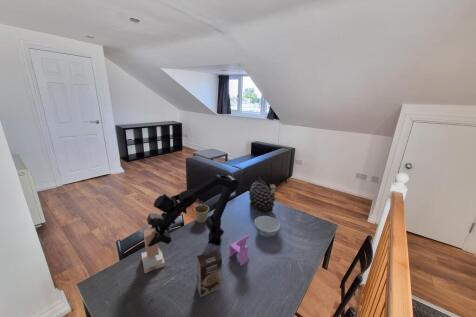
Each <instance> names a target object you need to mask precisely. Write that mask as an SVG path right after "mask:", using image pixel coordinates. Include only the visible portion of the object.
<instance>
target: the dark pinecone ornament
mask: <svg viewBox="0 0 476 317" xmlns="http://www.w3.org/2000/svg"><path fill="white" fill-rule="evenodd" d="M275 192H276V184H274V183H272V184H271V183H270V182H269V181H268V180H265V178H263V177H262V176H258V178H257V180H255V182H253V183H252V184H250V189H249V193H248V195H249V208H250V209H251V210H252V211H254V212H256V213H257V214H259V215H262V216H270V215H271V214H272V213H273V211H274V207H275V201H276V198H275V196H276V195H275Z"/></svg>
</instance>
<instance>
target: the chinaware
mask: <svg viewBox="0 0 476 317" xmlns="http://www.w3.org/2000/svg"><path fill="white" fill-rule="evenodd" d="M254 226H255V230H256V231H257V234H259V235H260V236H261V237H263V238H267V239H268V238H271V237H273V236H275V235H276V234H277V233H278V232H279V230H280V228H281V224H280V222H279V220H277V219H276V218H275V217H272V216H270V215H262V216H261V215H259V216H258V217H256V218H255V219H254Z"/></svg>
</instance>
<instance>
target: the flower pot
mask: <svg viewBox="0 0 476 317" xmlns="http://www.w3.org/2000/svg"><path fill="white" fill-rule="evenodd" d="M193 210H194V213H195V217H196V222H197V223H199V224H202V223H205V221H206V220H207V217H208V212H209V211H210V207H209V206H208V205H206V204H198V205H195V207H194V208H193Z"/></svg>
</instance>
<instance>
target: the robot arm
mask: <svg viewBox="0 0 476 317" xmlns="http://www.w3.org/2000/svg"><path fill="white" fill-rule="evenodd" d="M217 186H222V191H221V193H220V196H219V198H218V201H217V203H216V205H215V207H214V210H213V213H212V214H211V215H207V218H206V221H205V222H204V223H205V226H206V228H207V230H208V244H210V245H215V246H220V245H221V243H222V239H223V237H222V236H223V235H224V230H223V228H222V227H221V226H222V216H223V214H224V212H225V209H226V208H227V205H228V202H229V200H230V198H231V195H232V194H233V193H235V192H236V190H237V188H238V187H239V181H238V180H237V179H236V178H234V177H233V176H232V175H223V174H220V175H219V174H214V175H213V176H212V177H211V178H209V179H207V180H205V181H204V182H202V183H200V184H199V185H197V186H195V187H194V188H191V189H186V190H184V191H182V192H181V191H180V193H178V194H174V195H173V196H171V197H169V196H168V195H167V194H165V193H164V194H162V195H160V196H158V197H157V198H156V199H155V201H154V203H153V207H154V208H156V209H158V210H160V211H161V212H162V213H161V214H159V213H155V212H154V213H153V212H150V213H149V214H148V216H147V218H146V221H147V224H148V225H149V226H151V227H150V228H153V227H155V229H156V232H157V233H155V232H154V234H155V236H154V238H153V239H152V240H151V242H150V243H149V245H148V246H149V247H151V246H153V245H155V244H157V243H158V244H159V243H164V244H166V245H170V244H171V242H172V237H171V234H170V233H169V232H170V227H171V226H172V225H175V224H176V223H177V222H176V220H177V219H178V217H180V216H181V214H187V213H188V212H187V208H190V207H191V206H192V205H193V204H195V203H196V202H197V200H198V199H199V198H200V197H202V196H204V195H205V194H206V193H208V192H210V191H211V190H212V189H214V188H216V187H217Z"/></svg>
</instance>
